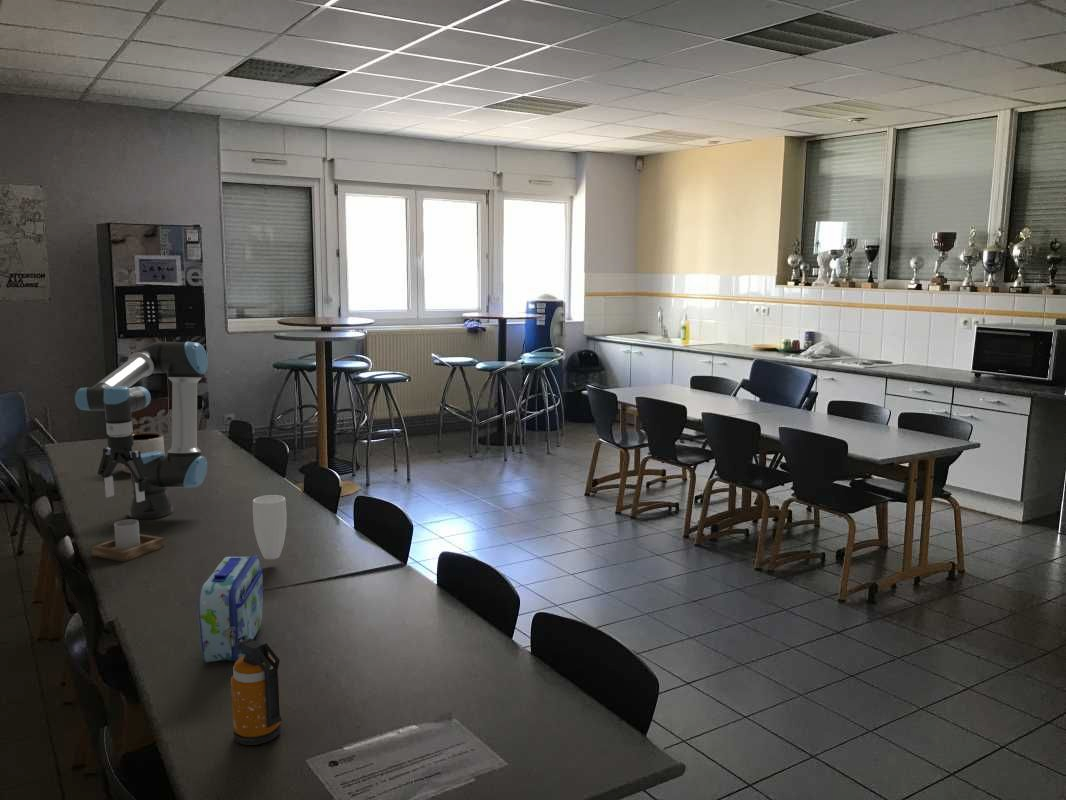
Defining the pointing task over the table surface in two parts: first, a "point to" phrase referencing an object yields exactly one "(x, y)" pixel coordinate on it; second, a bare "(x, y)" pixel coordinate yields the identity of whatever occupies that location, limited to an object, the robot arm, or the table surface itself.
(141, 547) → the tray
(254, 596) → the lunch box
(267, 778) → the table surface
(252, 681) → the canister
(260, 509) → the cup
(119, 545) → the cup
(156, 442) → the planter
